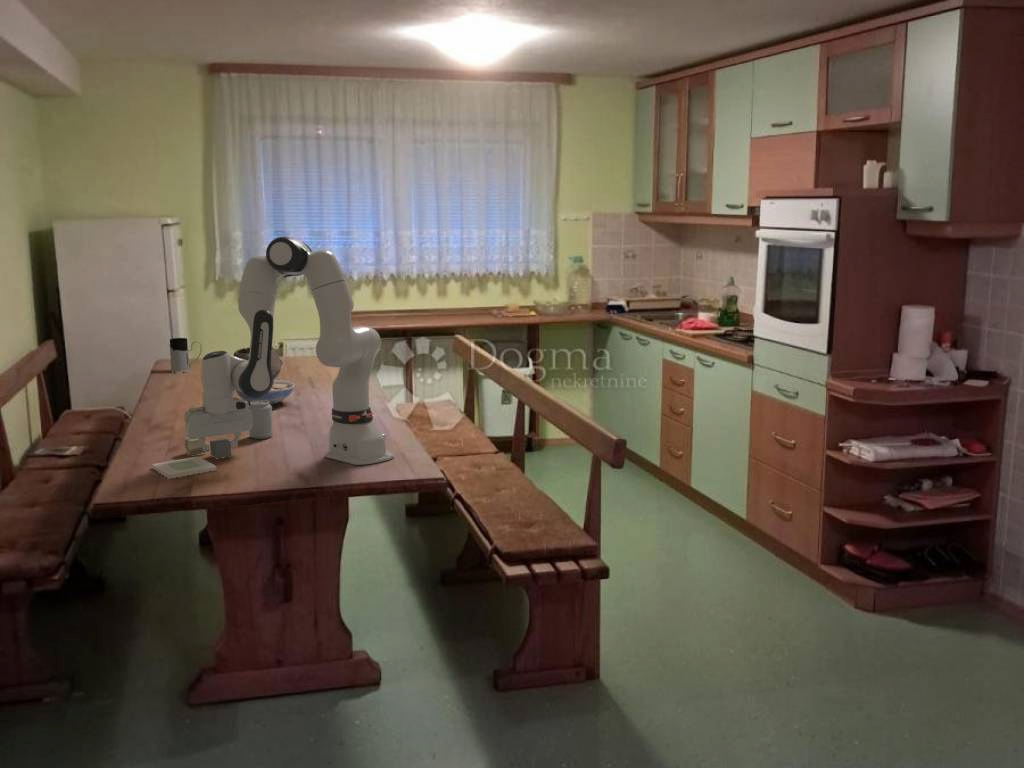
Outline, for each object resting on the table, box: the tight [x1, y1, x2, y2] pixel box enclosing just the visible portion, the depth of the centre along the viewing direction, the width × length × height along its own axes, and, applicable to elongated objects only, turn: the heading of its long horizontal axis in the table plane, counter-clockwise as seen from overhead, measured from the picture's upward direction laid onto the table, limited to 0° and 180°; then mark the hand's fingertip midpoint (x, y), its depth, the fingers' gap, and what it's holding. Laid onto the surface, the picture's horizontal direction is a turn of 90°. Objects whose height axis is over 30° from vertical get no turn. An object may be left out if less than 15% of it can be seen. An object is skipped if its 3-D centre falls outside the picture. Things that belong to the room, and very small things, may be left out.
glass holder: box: [169, 337, 203, 373], centre depth 434 cm, size 9×14×15 cm, turn 100°
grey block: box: [209, 437, 232, 459], centre depth 292 cm, size 5×5×5 cm
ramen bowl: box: [235, 379, 295, 406], centre depth 366 cm, size 25×23×8 cm
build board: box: [151, 455, 218, 480], centre depth 279 cm, size 14×14×1 cm
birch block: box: [183, 437, 206, 457], centre depth 295 cm, size 5×5×5 cm
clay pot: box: [232, 346, 284, 380], centre depth 406 cm, size 21×21×15 cm
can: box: [247, 400, 274, 440], centre depth 315 cm, size 8×8×12 cm
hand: (220, 448), depth 293 cm, fingers open, 8 cm apart
